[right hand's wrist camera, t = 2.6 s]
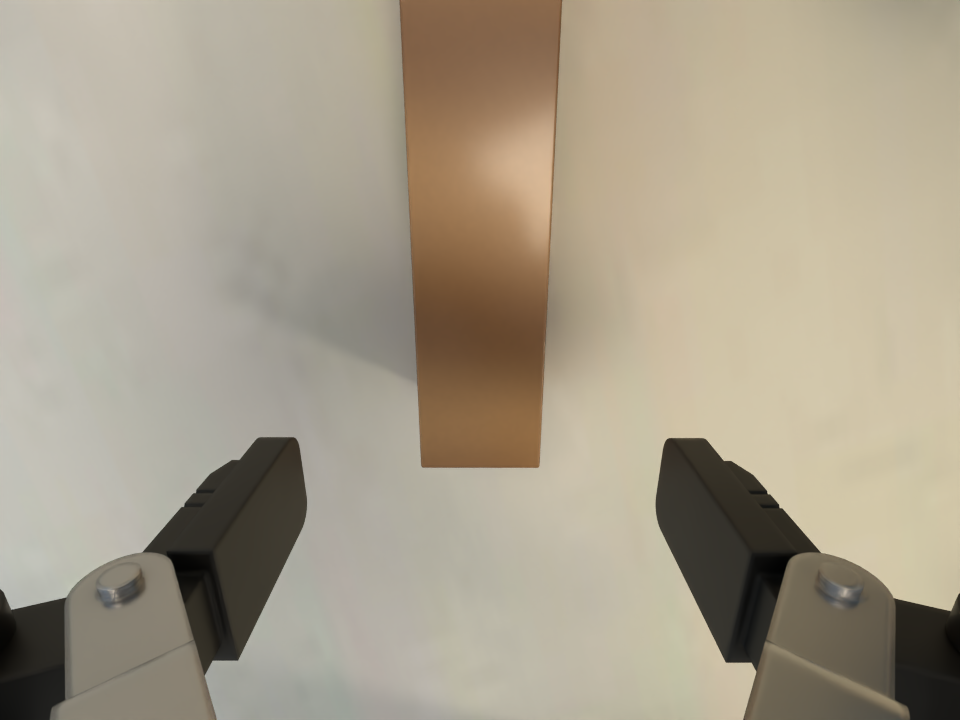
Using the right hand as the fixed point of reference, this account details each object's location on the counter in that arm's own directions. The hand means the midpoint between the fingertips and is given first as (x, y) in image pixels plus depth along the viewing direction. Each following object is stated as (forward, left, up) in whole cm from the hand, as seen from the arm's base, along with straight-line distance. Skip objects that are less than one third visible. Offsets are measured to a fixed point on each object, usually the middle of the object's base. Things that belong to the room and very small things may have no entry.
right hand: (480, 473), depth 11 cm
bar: (+8, -25, -13) cm, 29 cm away
